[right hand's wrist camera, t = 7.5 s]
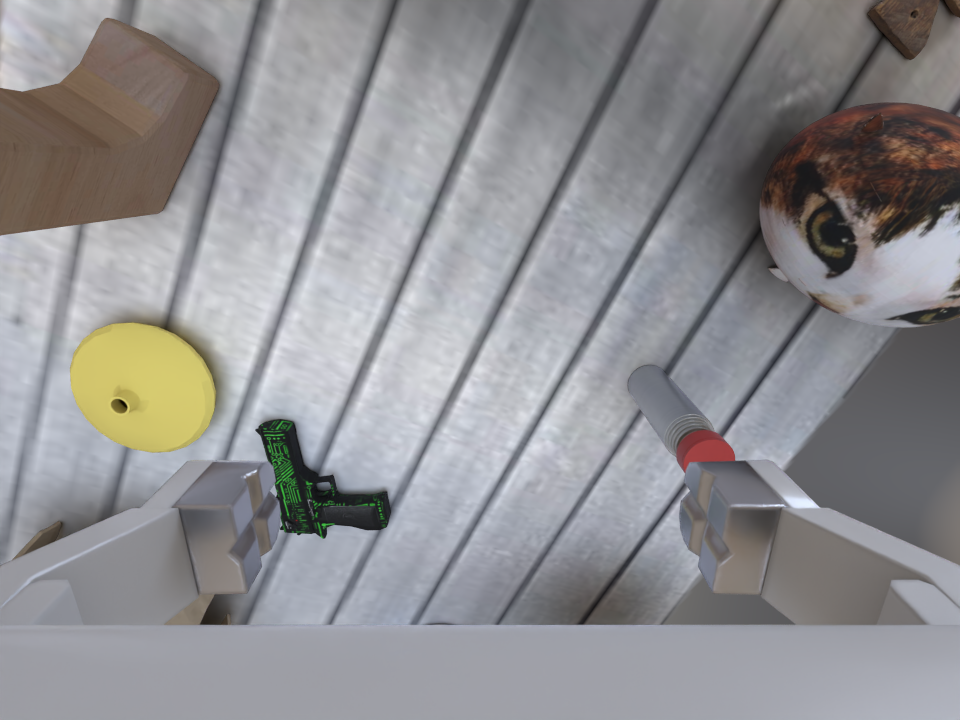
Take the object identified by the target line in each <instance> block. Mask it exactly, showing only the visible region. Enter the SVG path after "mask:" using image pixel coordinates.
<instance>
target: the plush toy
mask: <svg viewBox="0 0 960 720" xmlns="http://www.w3.org/2000/svg"><path fill="white" fill-rule="evenodd" d="M760 222H761V228H762V232H763V237H764V240H765V243H766V245H767V248H768V250H769V252H770V254H771V256H772V258H773V260H774V261H775V263H776V265H777V266H778V268H768V269H769V270H770V271H771V272H772V273H773V274H774V275H775V276H776V277H778V278H779V279H781V280H783V281H785V282H788V280H789V281H790V282H791V283H792V284H793V285H794V286H795V287H796V288H797V289H798V290H800V291H801V292H802V293H803V294H804V295H806V296H807V297H808V298H810V299H811V300H813V301H814V302H815V303H817V304H819V305H821V306H823V307H824V308H826V309H828V310H830V311H832V312H834V313H837V314H839V315H841V316H844V317H847V318H849V319H852V320H856V321H860V322H864V323H867V324H873V325H879V326H887V327H918V326H926V325H932V324H937V323H941V322H945V321H949V320H952V319H955V318H958V317H960V117H958V116H956V115H953V114H951V113H948V112H945V111H942V110H939V109H935V108H931V107H927V106H922V105H917V104H908V103H874V104H866V105H861V106H855V107H852V108H848V109H845V110H841V111H838V112H836V113H833V114H830V115H828V116H826V117H824V118H822V119H820V120H818V121H816V122H814V123H812V124H811V125H809V126H808V127H806V128H805V129H804V130H802V131H801V132H800V133H798V134H797V135H796V136H795V137H794V138H792V139H791V140H790V141H789V143H788V144H787V145H786V146H785V147H784V148H783V149H782V150H781V151H780V153H779V154H778V156H777V157H776V158H775V160H774V162H773V163H772V165H771V167H770V169H769V171H768V173H767V176H766V178H765V181H764V184H763V188H762V193H761V197H760Z"/></svg>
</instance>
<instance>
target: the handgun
mask: <svg viewBox="0 0 960 720" xmlns="http://www.w3.org/2000/svg"><path fill="white" fill-rule="evenodd" d="M255 431H256V432H257V433H258V434H259V435H260V436H261V438H262V442H263V445H264V448H265V452H266V455H267V459H268V461H269V462H270V463H271V465H272V466H273V468H274V473H275V479H276V482H275V487H276V490H277V496H276V498H277V499H278V500H279V504H280V511H281V517H280V518H281V521H282V526H281V527H280V530H284V531H285V532H287V533H297V535H300V534H301V533H304V534H312V533H316V534H317V535H319V536H320V537H321V538H323V539H324V538H325V537H326V535H327V527H329V526H332V525H342V526H352V527H356V528H360V529H364V530H381V529H383V528H386V527H387V525H388V522H389V518H390V514H391V510H390V505H389V500H388V495H387V492H381V493H378V494H375V495H340V494H339V493H338V491H336V489H337V488H336V483H335V479H334V476H333V475H330V476H321V477H320V476H318V474H316V473H314V472H311V471H310V470H309V469H308V468H307V467H306V466H304V464H303V460H302V456H301V452H300V448H299V444H298V440H297V435H296V429H295V425H294V423H293V422H291V421H286V420H281V419H280V420H273V421H269V422H265V423H263V424H261V425H260V426H259V427H258V429H256V430H255ZM321 482H330V485H331V489H330V490H327V491H319V490H318V489H317V487H316V483H321ZM331 490H332V491H331ZM330 491H331V492H330Z"/></svg>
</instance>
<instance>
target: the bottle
mask: <svg viewBox="0 0 960 720" xmlns="http://www.w3.org/2000/svg"><path fill="white" fill-rule="evenodd" d="M628 390H629V393H630V394H631V396H632V397H633V399H634V400H635V402H636V403H637V405H638V406H639V408H640V409H641V411H642V412H643V414H644V415H645V417H646V418H647V420H648V421H649V423H650V424H651V426H652V427H653V429H654V430H655V432H656V433H657V435H658V436H659V438H660V439H661V441H662V442H663V444H664V445H665V447H666V448H667V450H668V451H669V452H670V453H671V454H673V455H674V456H675V457H676V452H677V448H678V445H679V444H680V442H681V441H682V440H683V439H684V438H685V437H686V436H687V435H689V434H691V433H693V432H695V431H699V430H710V431H713V432H715V431H714V428H713V426H712V424H711V423H710V421H709V420H708V419H707V418H706V417H705V416H704V415H703V414H702V412H701V411H700V410H699V409H698V408H697V407H696V406H695V405H694V404H693V403H692V401H691V400H690V399H689V398H688V397H687V396H686V395H685V394H684V393H683V392H682V390H681V389H680V388H679V387H678V386H677V385H676V384H675V383H674V382H673V381H672V379H671V378H670V377H669V376H668V375H667V374H666V373H665V372H664V371H663V370H662V369H661V368H659V367H657V366H654V365H646V366H642V367H640V368H638V369H637V370H635V371H634V372H633V373H632V375H631V376H630V378H629V381H628Z"/></svg>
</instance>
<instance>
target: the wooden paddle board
mask: <svg viewBox="0 0 960 720" xmlns="http://www.w3.org/2000/svg"><path fill="white" fill-rule="evenodd" d="M939 1H940V0H883V1H882V2H880V3H879V4H877V5H876V6H875V7H873V8H872V9H871V10H870V12H868V14H869V16H870V18H871V19H872V20H873V22H874V23H875V24H876V26H877V27H878V28H879V30H880V31H881V32H882V33H884V35H885V36H886V37H887V38H888V39H889V40H890V41H891V43H892V44H893V45H894V46H895V47H896V48H897V49H898V50H899V51H900V52H901V53H902V54H903V55H904V56H905V57H906V58H907V59H909V60H911V59H914V58H915V57H916V56H917V55H918V54H919V53H920V51H921V50H922V49H923V48H924V46H925V45H926V43H927V40H928V37H929V34H930V31H931V27H932V24H933V20H934V17H935V15H936V12H937V8H938V4H939ZM945 2H946V4H947V6H948V7H949V9H950V10H951V11H952V13H953V14H954V15H955V16H957V17H959V18H960V0H945Z"/></svg>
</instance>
